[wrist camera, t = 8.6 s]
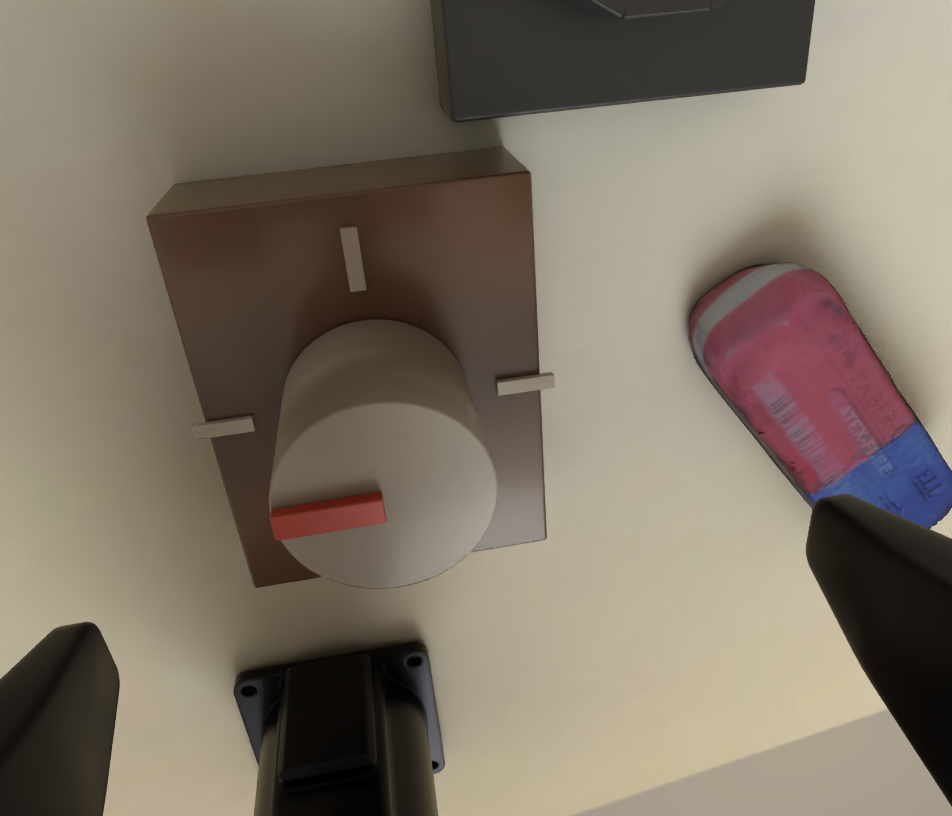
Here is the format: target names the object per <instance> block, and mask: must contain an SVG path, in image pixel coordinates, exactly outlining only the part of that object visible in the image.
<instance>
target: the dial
mask: <svg viewBox="0 0 952 816" xmlns="http://www.w3.org/2000/svg"><path fill="white" fill-rule="evenodd" d="M497 497H498V481H497V475H496V470H495V467H494V464H493V461H492V457H491V454H490V451H489V448H488V445H487V442H486V439H485V436H484V433H483V430H482V427H481V424H480V421H479V418H478V415H477V412H476V409H475V406H474V403H473V399H472V396H471V393H470V390H469V387H468V384H467V381H466V378H465V375H464V372H463V370H462V368H461V366H460V364H459V362H458V361H457V359H456V358H455V356H454V355H453V353H452V352H451V351H450V350H449V349H448V348H447V347H446V346H445V345H444V344H443V343H442V342H441V341H439V340H438V339H437V338H436V337H434V336H433V335H431V334H429V333H428V332H426V331H424V330H422V329H420V328H418V327H415V326H413V325H410V324H406V323H403V322H398V321H393V320H381V319H373V320H362V321H357V322H352V323H348V324H345V325H342V326H339V327H337V328H335V329H333V330H330V331H328V332H326V333H325V334H323V335H322V336H320V337H319V338H317V339H316V340H314V341H313V342H312V343H311V344H310V345H309V346H307V347H306V348H305V350H304V351H303V352H302V353H301V354H300V355H299V356H298V358H297V359H296V361H295V362H294V364H293V365H292V367H291V369H290V371H289V373H288V376H287V378H286V382H285V385H284V390H283V397H282V404H281V411H280V418H279V425H278V432H277V440H276V447H275V454H274V461H273V468H272V476H271V483H270V490H269V509H270V521H271V525H272V529H273V532H274V536H275V539H276V541H279V540H281V541H282V543H283V544H284V546H285V547H286V548H287V550H288V551H289V552H290V553H291V554H292V555H293V556H294V557H295V558H296V559H297V560H298V561H299V562H300V563H301V564H303V565H304V566H305V567H307V568H308V569H309V570H311V571H313V572H315V573H316V574H318V575H320V576H322V577H324V578H326V579H329V580H331V581H334V582H337V583H340V584H344V585H348V586H353V587H358V588H369V589H388V588H396V587H403V586H407V585H412V584H416V583H419V582H422V581H425V580H428V579H430V578H432V577H434V576H437V575H439V574H441V573H443V572H444V571H446V570H448V569H449V568H451V567H453V566H454V565H455V564H457V563H458V562H459V561H461V560H462V559H463V558H464V557H465V556H467V555H468V554H469V553H470V552H471V551H472V550H473V549H474V547H475V546H476V545H477V544H478V543H479V541H480V540H481V539H482V537H483V536H484V534H485V532H486V531H487V529H488V527H489V525H490V523H491V520H492V518H493V515H494V512H495V508H496V504H497Z"/></svg>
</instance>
